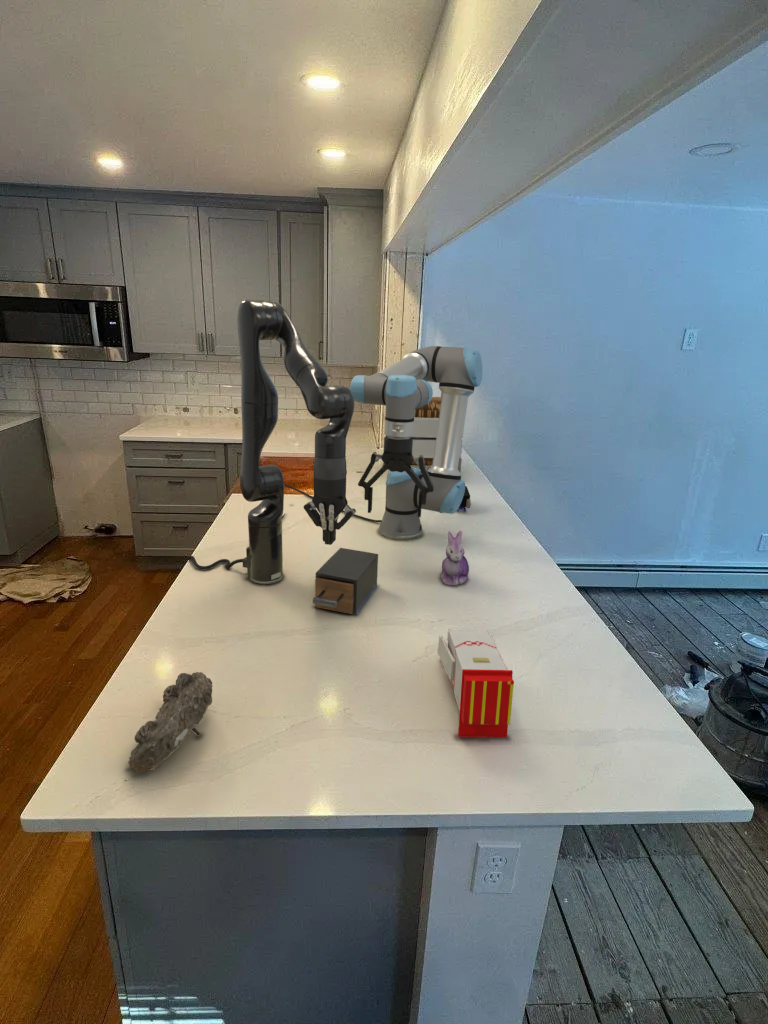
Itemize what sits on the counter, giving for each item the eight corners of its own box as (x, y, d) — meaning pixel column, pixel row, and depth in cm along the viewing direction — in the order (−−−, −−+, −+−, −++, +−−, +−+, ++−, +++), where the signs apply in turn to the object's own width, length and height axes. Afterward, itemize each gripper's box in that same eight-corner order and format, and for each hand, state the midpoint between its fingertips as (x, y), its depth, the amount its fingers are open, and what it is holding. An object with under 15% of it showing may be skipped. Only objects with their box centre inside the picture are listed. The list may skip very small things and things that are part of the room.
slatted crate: (382, 463, 289) (386, 382, 275) (445, 464, 293) (451, 384, 279) (390, 482, 257) (394, 392, 243) (460, 483, 261) (468, 394, 247)
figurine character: (470, 516, 223) (465, 500, 237) (473, 499, 220) (467, 484, 233) (453, 516, 223) (449, 500, 236) (455, 498, 220) (451, 483, 233)
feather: (292, 507, 224) (294, 503, 223) (275, 531, 197) (278, 527, 197) (288, 505, 224) (291, 501, 223) (271, 528, 197) (273, 524, 197)
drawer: (342, 626, 139) (343, 597, 136) (305, 618, 142) (304, 589, 139) (371, 586, 159) (372, 560, 156) (338, 580, 162) (338, 554, 159)
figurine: (450, 589, 161) (455, 540, 156) (431, 574, 170) (435, 528, 165) (477, 583, 166) (482, 536, 161) (457, 569, 174) (462, 523, 169)
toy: (488, 613, 130) (523, 677, 101) (484, 667, 133) (517, 744, 104) (435, 612, 130) (455, 676, 101) (432, 666, 133) (451, 743, 103)
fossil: (162, 673, 113) (214, 640, 108) (196, 704, 116) (248, 673, 111) (102, 765, 93) (163, 730, 88) (145, 799, 96) (206, 767, 91)
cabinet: (356, 614, 146) (357, 580, 143) (315, 606, 149) (315, 572, 146) (377, 585, 162) (378, 553, 159) (339, 578, 165) (340, 547, 162)
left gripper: (296, 474, 129) (297, 544, 135) (351, 482, 125) (349, 553, 131) (310, 466, 136) (310, 533, 141) (362, 473, 132) (360, 542, 138)
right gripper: (348, 436, 145) (346, 513, 152) (446, 443, 143) (439, 521, 150) (353, 430, 152) (351, 505, 159) (447, 436, 150) (440, 512, 157)
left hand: (329, 543), depth 136 cm, fingers closed
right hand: (394, 513), depth 154 cm, fingers open, 13 cm apart
